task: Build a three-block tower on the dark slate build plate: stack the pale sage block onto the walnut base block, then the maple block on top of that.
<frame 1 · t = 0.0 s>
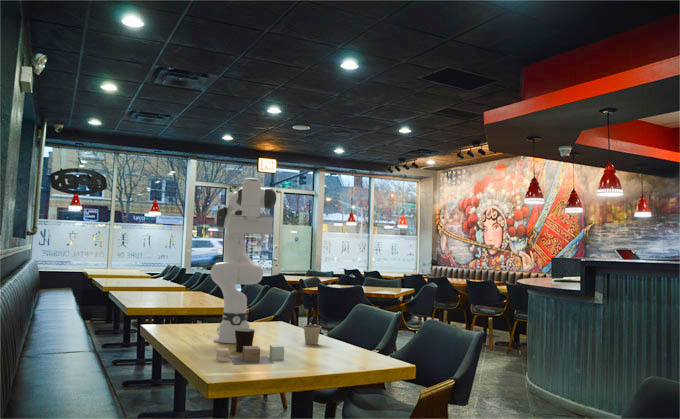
hand: (249, 243, 235), 48 cm above the table, fingers open, 8 cm apart
sage block: (276, 360, 219), on the table
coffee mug: (244, 352, 233), on the table
maple block: (222, 362, 211), on the table
flower pot: (311, 344, 262), on the table
build plate: (250, 362, 213), on the table
walnut block: (250, 360, 213), point 1 cm above the table, touching build plate
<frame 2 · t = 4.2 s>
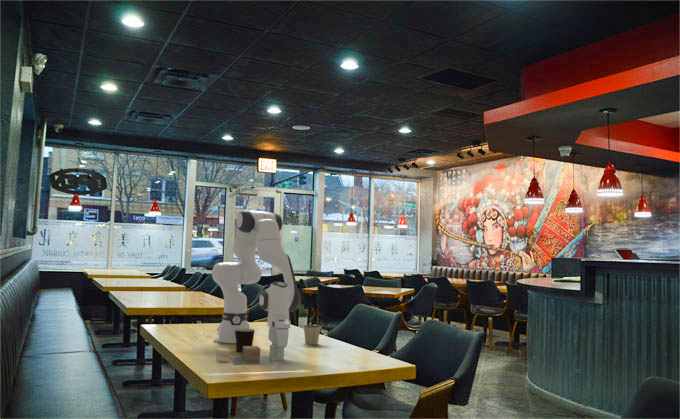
hand: (276, 355, 219), 2 cm above the table, fingers closed on sage block, 5 cm apart
sage block: (276, 360, 219), on the table, touching gripper
everything else where it was.
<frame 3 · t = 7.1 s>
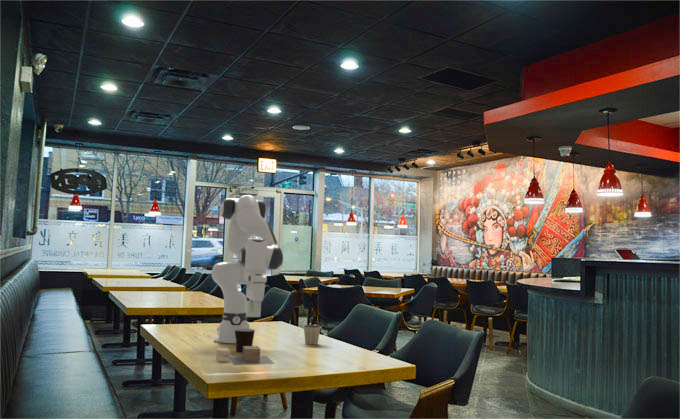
hand: (253, 310, 215), 20 cm above the table, fingers closed on sage block, 5 cm apart
sage block: (253, 316, 215), point 18 cm above the table, touching gripper
everything else where it was.
when the fingers open (9 cm above the table, at t = 10.1 s): sage block stays where it is, resting on walnut block.
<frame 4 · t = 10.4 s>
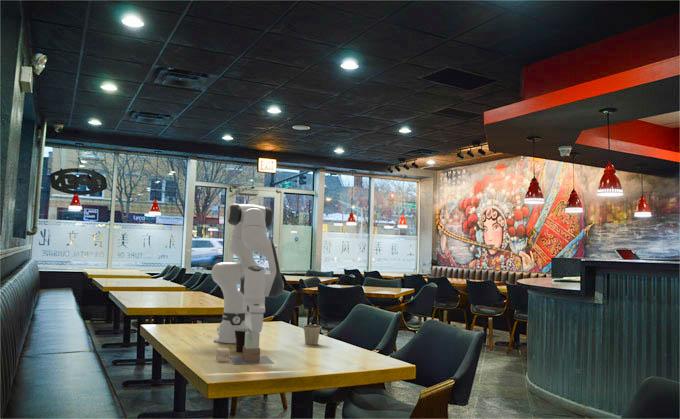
hand: (251, 340, 214), 9 cm above the table, fingers open, 8 cm apart
sage block: (251, 347, 214), point 6 cm above the table, touching walnut block
walnut block: (250, 360, 213), point 1 cm above the table, touching build plate, sage block
everything else where it was.
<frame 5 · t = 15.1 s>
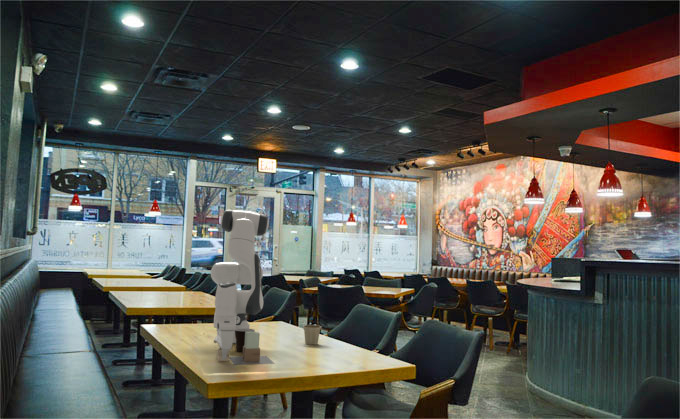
hand: (222, 357, 212), 2 cm above the table, fingers closed on maple block, 4 cm apart
maple block: (222, 361, 211), on the table, touching gripper
everything else where it was.
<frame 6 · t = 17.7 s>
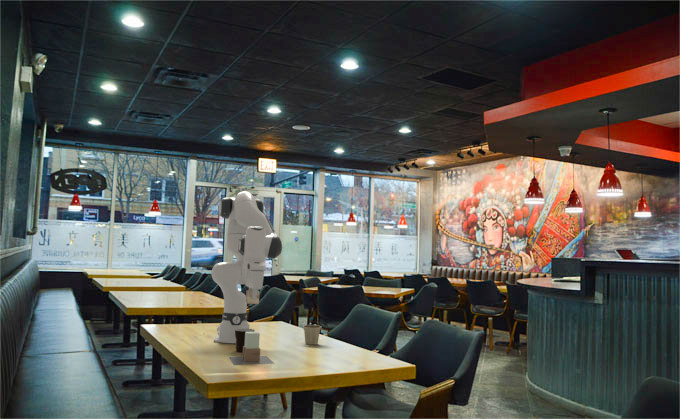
hand: (252, 299, 215), 25 cm above the table, fingers closed on maple block, 4 cm apart
maple block: (252, 303, 215), point 24 cm above the table, touching gripper
everything else where it was.
when the fingers open (14 cm above the table, at t = 20.7 s): maple block stays where it is, resting on sage block.
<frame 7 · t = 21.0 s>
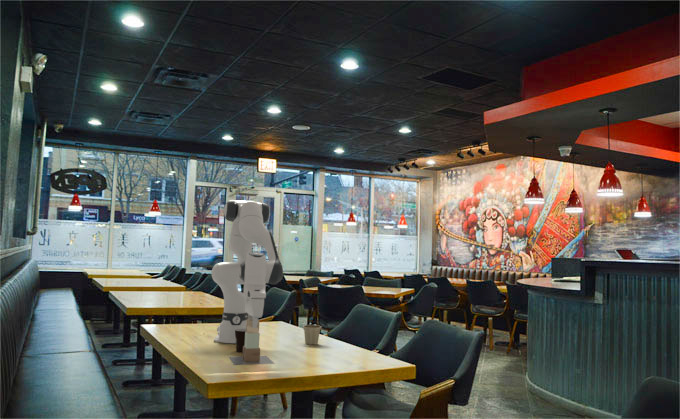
hand: (252, 326, 214), 14 cm above the table, fingers open, 7 cm apart
sage block: (251, 347, 214), point 6 cm above the table, touching maple block, walnut block
maple block: (252, 332, 214), point 12 cm above the table, touching sage block
everything else where it was.
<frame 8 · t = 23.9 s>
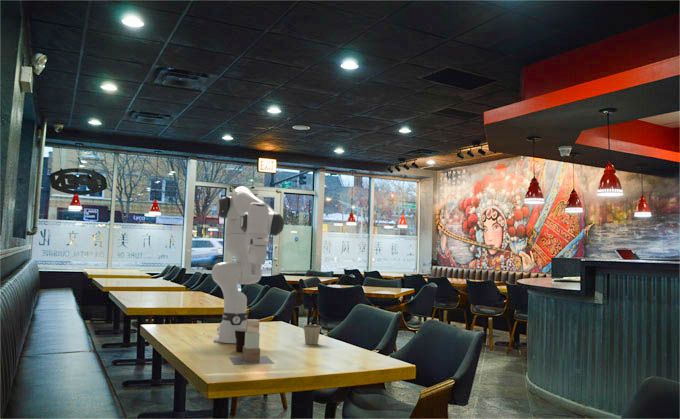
hand: (255, 274, 216), 35 cm above the table, fingers open, 8 cm apart
nothing on the table moved.
at the end: sage block 0.1 cm off-centre on the walnut block, point 5.0 cm above the walnut block's base; maple block 0.1 cm off-centre on the walnut block, point 11.0 cm above the walnut block's base; maple block tilted 0° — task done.
